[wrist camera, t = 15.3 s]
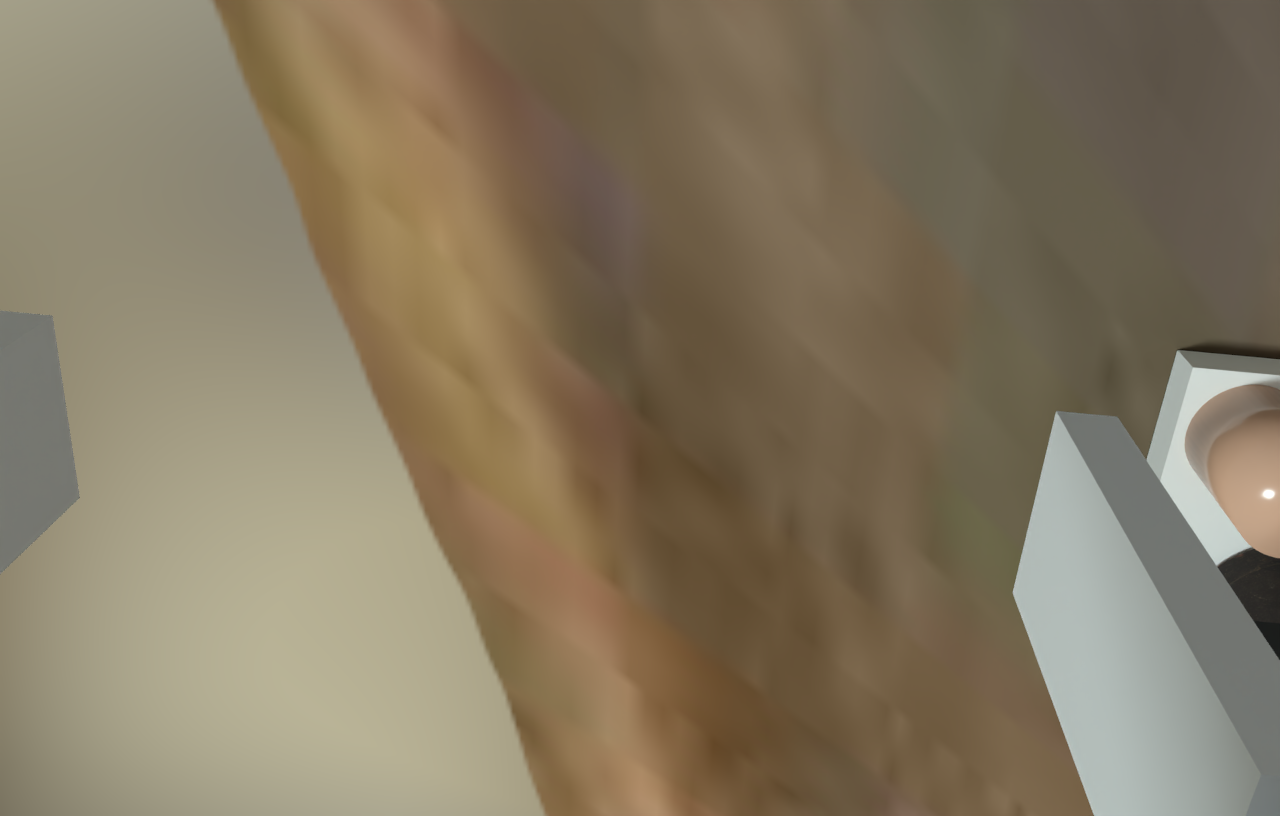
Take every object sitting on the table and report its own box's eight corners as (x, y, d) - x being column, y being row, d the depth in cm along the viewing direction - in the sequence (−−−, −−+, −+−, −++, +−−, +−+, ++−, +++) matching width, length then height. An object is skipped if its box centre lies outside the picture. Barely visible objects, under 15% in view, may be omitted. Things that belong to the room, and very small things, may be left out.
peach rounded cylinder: (1201, 379, 51) (1255, 441, 46) (1320, 390, 51) (1389, 453, 45) (1171, 481, 53) (1220, 552, 48) (1286, 492, 53) (1347, 565, 47)
